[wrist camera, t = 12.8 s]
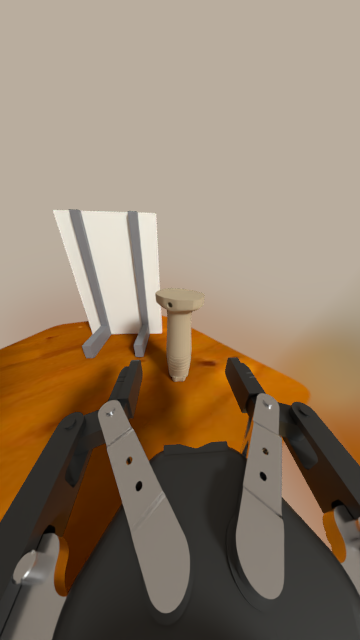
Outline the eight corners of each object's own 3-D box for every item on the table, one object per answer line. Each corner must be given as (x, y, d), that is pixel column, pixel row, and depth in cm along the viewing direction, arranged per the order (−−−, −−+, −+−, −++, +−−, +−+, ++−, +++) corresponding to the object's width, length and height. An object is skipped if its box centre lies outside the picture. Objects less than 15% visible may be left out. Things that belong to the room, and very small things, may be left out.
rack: (70, 358, 28) (-7, 190, 16) (95, 331, 37) (59, 212, 26) (158, 356, 29) (147, 196, 17) (162, 330, 38) (156, 214, 27)
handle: (170, 360, 28) (168, 286, 21) (200, 373, 25) (209, 292, 18) (155, 378, 24) (148, 294, 17) (189, 394, 21) (195, 303, 15)
